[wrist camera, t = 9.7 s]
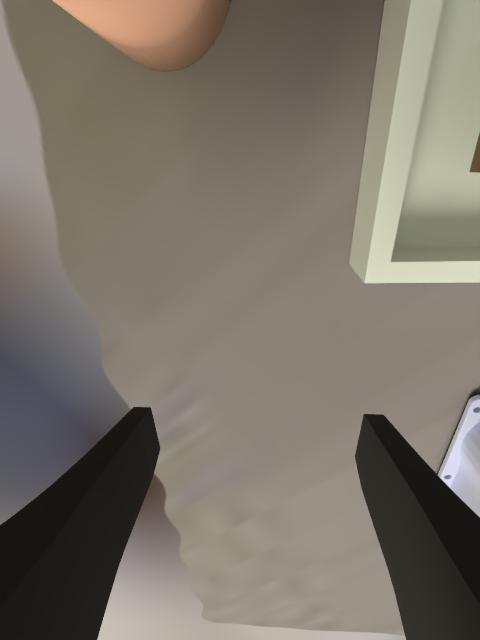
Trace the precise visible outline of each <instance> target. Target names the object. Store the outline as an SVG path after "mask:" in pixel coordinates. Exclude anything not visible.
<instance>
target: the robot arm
mask: <svg viewBox="0 0 480 640" xmlns="http://www.w3.org/2000/svg"><path fill="white" fill-rule="evenodd" d="M476 407H477V408H476ZM159 451H160V445H159V441H158V436H157V432H156V428H155V423H154V419H153V415H152V411H151V408H150V407H134V408H132V409H131V410H130V411H129V412H128V413H127V414H126V415H125V416H124V417H123V418H122V419H121V420H120V421H119V422H118V423H117V424H116V425H115V426H114V427H113V428H112V429H111V430H110V431H109V432H108V433H107V434H106V435H105V436H104V437H103V438H102V439H101V440H100V441H99V442H98V443H97V444H96V445H95V446H94V447H93V448H92V449H91V450H90V451H89V452H87V453H86V454H85V455H84V456H83V457H82V458H81V459H80V460H79V461H78V462H77V463H76V464H75V465H73V466H72V467H71V468H70V469H69V470H68V471H67V472H66V473H64V474H63V475H62V476H61V477H60V478H59V479H58V480H57V481H56V482H54V483H53V484H52V485H51V486H50V487H49V488H47V489H46V490H45V491H44V492H43V493H41V494H40V495H39V496H38V497H37V498H35V499H34V500H33V501H31V502H30V503H29V504H28V505H26V506H25V507H24V508H23V509H21V510H20V511H19V512H17V513H16V514H15V515H14V516H12V517H11V518H10V519H8V520H7V521H6V522H4V523H3V524H1V525H0V640H97V638H98V634H99V631H100V627H101V624H102V620H103V617H104V613H105V610H106V606H107V603H108V600H109V596H110V593H111V590H112V586H113V583H114V579H115V576H116V573H117V569H118V566H119V563H120V561H121V558H122V555H123V552H124V549H125V547H126V544H127V542H128V539H129V537H130V534H131V532H132V529H133V526H134V524H135V521H136V519H137V516H138V514H139V511H140V509H141V506H142V503H143V501H144V498H145V496H146V493H147V491H148V488H149V485H150V483H151V480H152V477H153V474H154V470H155V467H156V463H157V459H158V455H159ZM355 459H356V464H357V469H358V474H359V478H360V483H361V487H362V491H363V494H364V497H365V500H366V503H367V506H368V510H369V513H370V516H371V519H372V522H373V525H374V528H375V531H376V534H377V537H378V540H379V543H380V546H381V549H382V552H383V555H384V558H385V561H386V564H387V567H388V570H389V574H390V577H391V581H392V584H393V587H394V591H395V595H396V599H397V603H398V608H399V612H400V616H401V620H402V624H403V628H404V632H405V636H406V640H480V395H475V396H473V397H471V398H470V399H469V401H468V404H467V406H466V408H465V411H464V413H463V416H462V418H461V420H460V423H459V425H458V428H457V430H456V432H455V435H454V437H453V440H452V442H451V444H450V447H449V449H448V452H447V454H446V456H445V459H444V461H443V464H442V466H441V468H440V471H439V473H438V475H437V474H436V473H435V472H434V471H433V470H432V469H431V468H430V466H429V465H428V464H427V463H426V462H425V461H424V460H423V459H422V458H421V457H420V456H419V455H418V453H417V452H416V451H415V450H414V449H413V448H412V447H411V446H410V444H409V443H408V442H407V441H406V440H405V439H404V438H403V436H402V435H401V434H400V433H399V432H398V431H397V430H396V428H395V427H394V426H393V425H392V424H391V423H390V422H389V420H388V419H387V418H386V417H385V416H384V415H375V414H364V416H363V421H362V426H361V430H360V435H359V440H358V445H357V450H356V454H355Z"/></svg>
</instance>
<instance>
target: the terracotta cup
mask: <svg viewBox="0 0 480 640" xmlns="http://www.w3.org/2000/svg"><path fill="white" fill-rule="evenodd" d="M53 1H54V2H55V3H57V4H58V5H59V6H61V7H62V8H63V9H65V10H66V11H67V12H69V13H70V14H71V15H73V16H74V17H75V18H77V19H78V20H79V21H81V22H82V23H83V24H84V25H86V26H87V27H88V28H90V29H91V30H92V31H94V32H95V33H96V34H98V35H99V36H100V37H102V38H103V39H104V40H106V41H107V42H108V43H110V44H111V45H112V46H114V47H115V48H116V49H118V50H119V51H120V52H122V53H123V54H124V55H126V56H127V57H128V58H130V59H131V60H133V61H134V62H135V63H137V64H139V65H141V66H143V67H145V68H148V69H151V70H155V71H161V72H170V71H176V70H180V69H183V68H186V67H188V66H190V65H192V64H193V63H195V62H196V61H197V60H199V59H200V58H201V57H202V56H203V55H204V54H205V53H206V52H207V51H208V50H209V49H210V48H211V46H212V45H213V43H214V42H215V40H216V39H217V37H218V35H219V33H220V31H221V29H222V27H223V24H224V22H225V19H226V16H227V12H228V9H229V4H230V0H53Z"/></svg>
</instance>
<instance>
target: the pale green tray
mask: <svg viewBox="0 0 480 640" xmlns="http://www.w3.org/2000/svg"><path fill="white" fill-rule="evenodd" d="M479 133H480V0H385V2H384V10H383V17H382V24H381V32H380V39H379V47H378V54H377V61H376V69H375V76H374V84H373V91H372V98H371V106H370V113H369V121H368V128H367V135H366V143H365V150H364V157H363V165H362V172H361V180H360V187H359V194H358V202H357V209H356V217H355V224H354V231H353V239H352V246H351V254H350V261H349V265H350V266H351V267H352V268H353V270H354V271H355V272H356V273H357V274H358V276H359V277H360V278H361V279H362V281H363V282H364V283H450V282H480V173H477V172H469V171H470V167H471V164H472V160H473V156H474V152H475V148H476V144H477V140H478V136H479Z"/></svg>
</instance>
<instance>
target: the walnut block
mask: <svg viewBox="0 0 480 640" xmlns="http://www.w3.org/2000/svg"><path fill="white" fill-rule="evenodd" d="M469 172H477V173H480V133H479V136H478V140H477V144H476V148H475V152H474V156H473V160H472V164H471V167H470V171H469Z"/></svg>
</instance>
